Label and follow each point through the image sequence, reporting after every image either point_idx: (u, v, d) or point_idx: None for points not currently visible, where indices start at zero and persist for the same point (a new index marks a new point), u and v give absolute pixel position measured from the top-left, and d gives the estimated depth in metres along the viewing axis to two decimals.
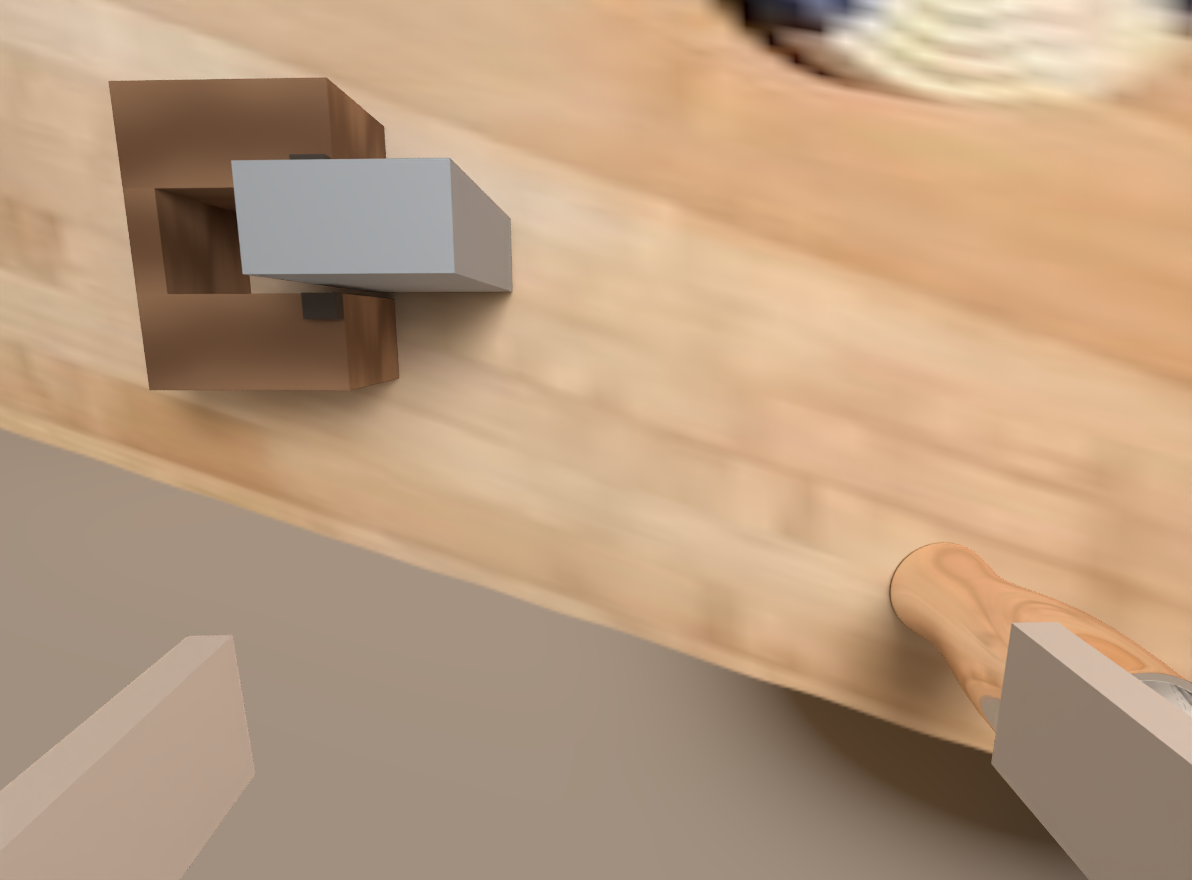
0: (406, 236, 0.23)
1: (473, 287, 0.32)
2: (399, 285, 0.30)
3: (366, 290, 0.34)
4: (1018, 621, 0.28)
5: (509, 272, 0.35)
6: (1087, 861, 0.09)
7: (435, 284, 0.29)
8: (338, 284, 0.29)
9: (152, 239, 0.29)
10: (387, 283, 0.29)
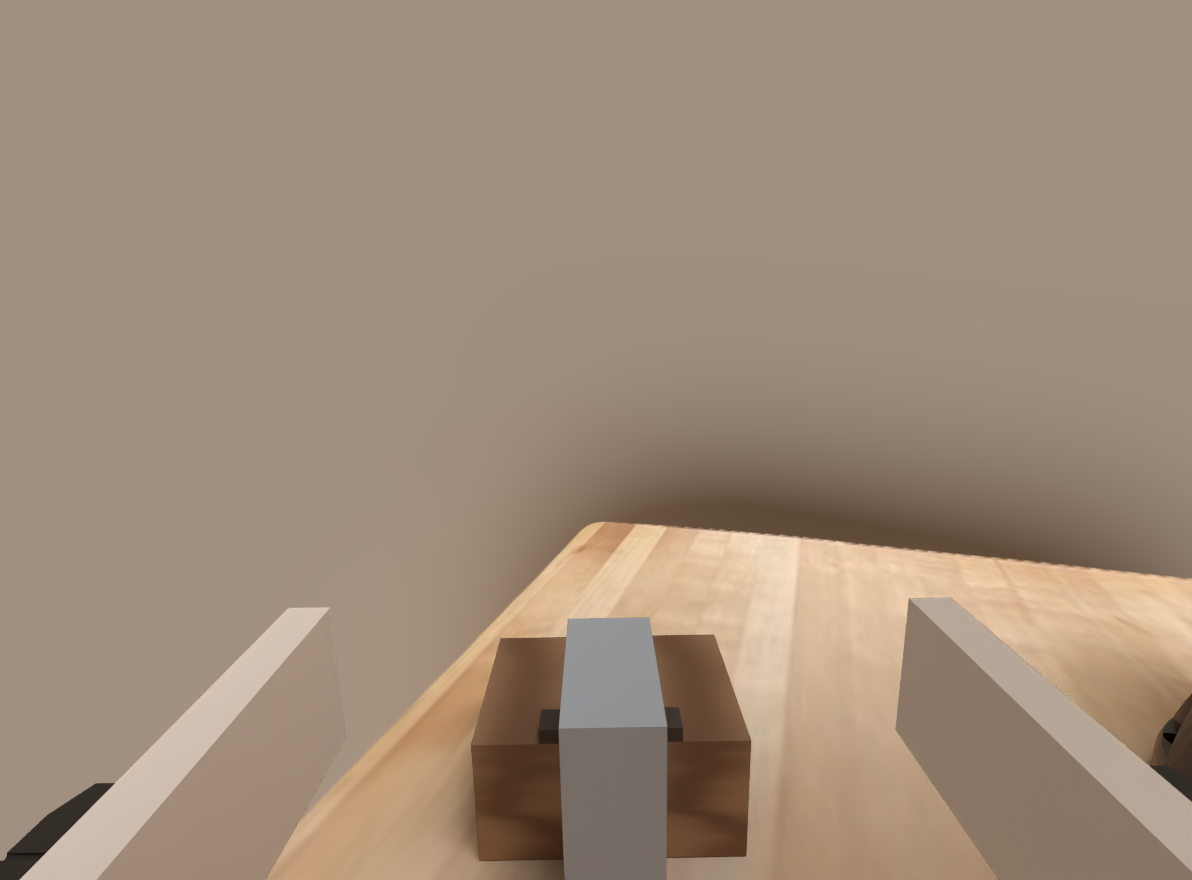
0: (594, 698, 0.25)
1: None
2: None
3: None
4: None
5: None
6: (961, 810, 0.10)
7: None
8: None
9: None
10: None
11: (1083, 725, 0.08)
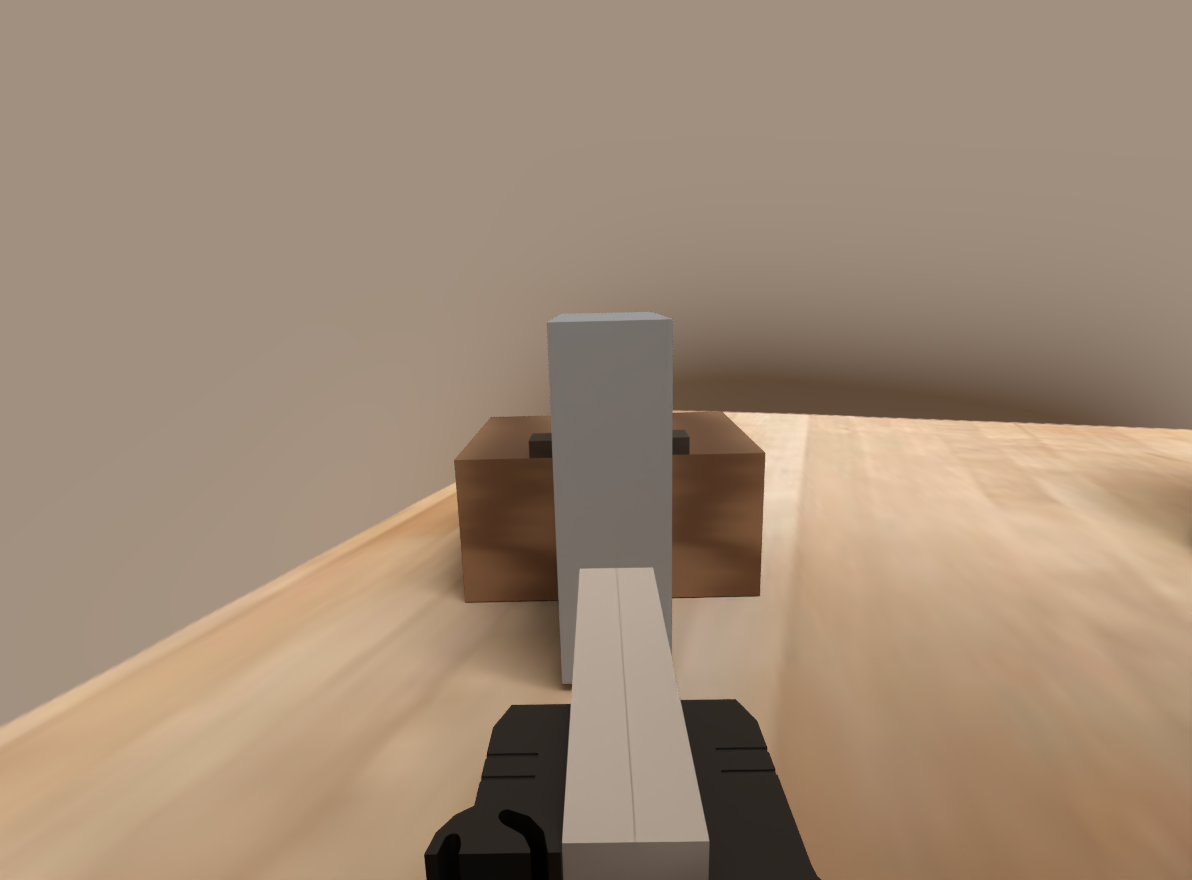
0: (589, 319, 0.21)
1: None
2: None
3: None
4: None
5: None
6: None
7: None
8: None
9: None
10: None
11: (657, 664, 0.09)
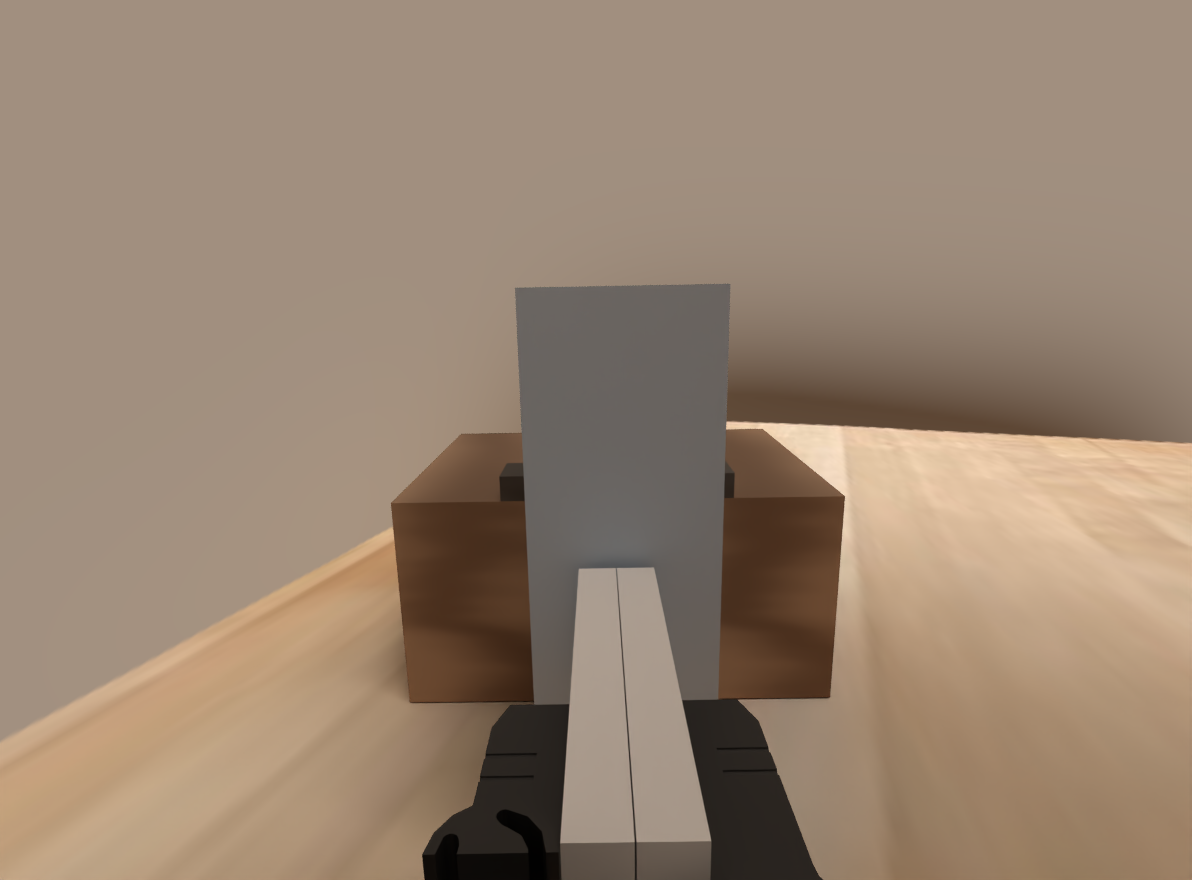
0: None
1: None
2: None
3: None
4: None
5: None
6: None
7: None
8: None
9: None
10: None
11: (659, 664, 0.09)
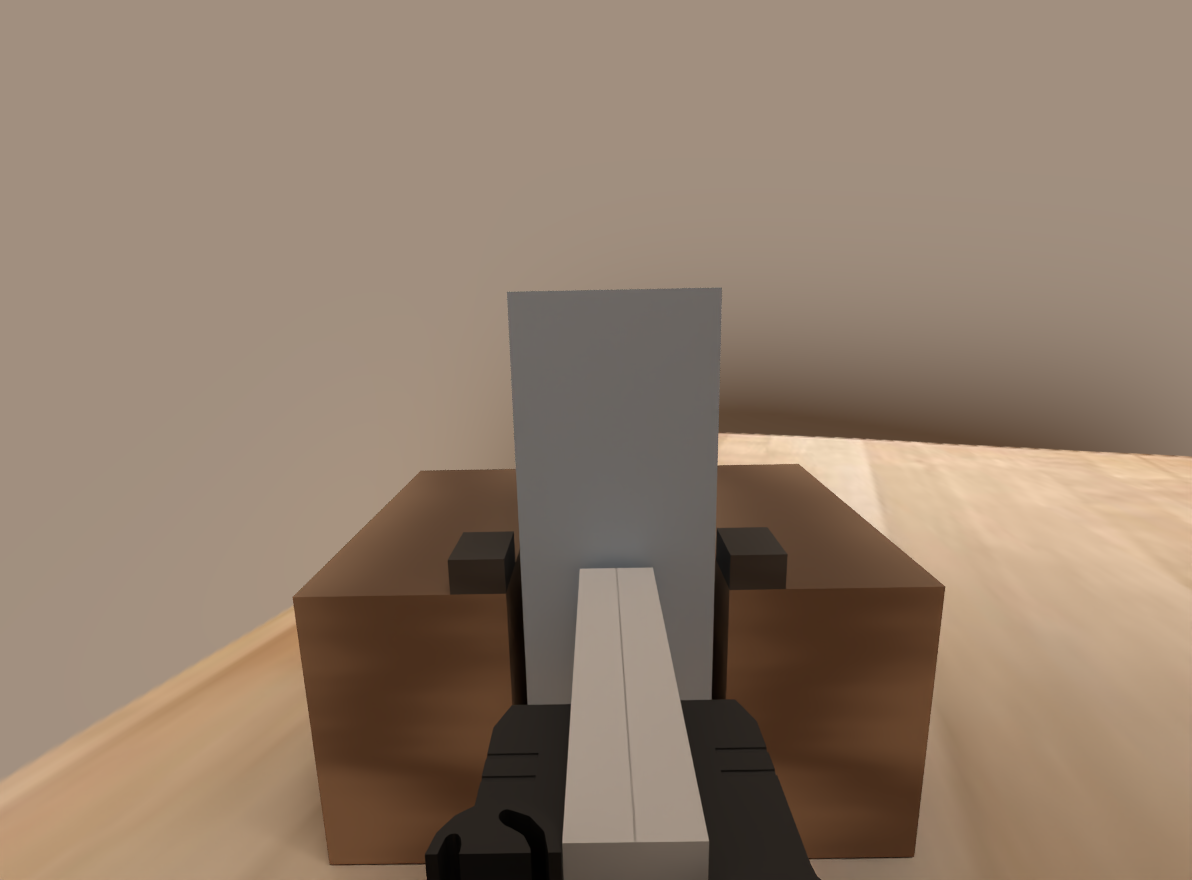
0: None
1: None
2: None
3: None
4: None
5: None
6: None
7: None
8: None
9: None
10: None
11: (657, 664, 0.09)
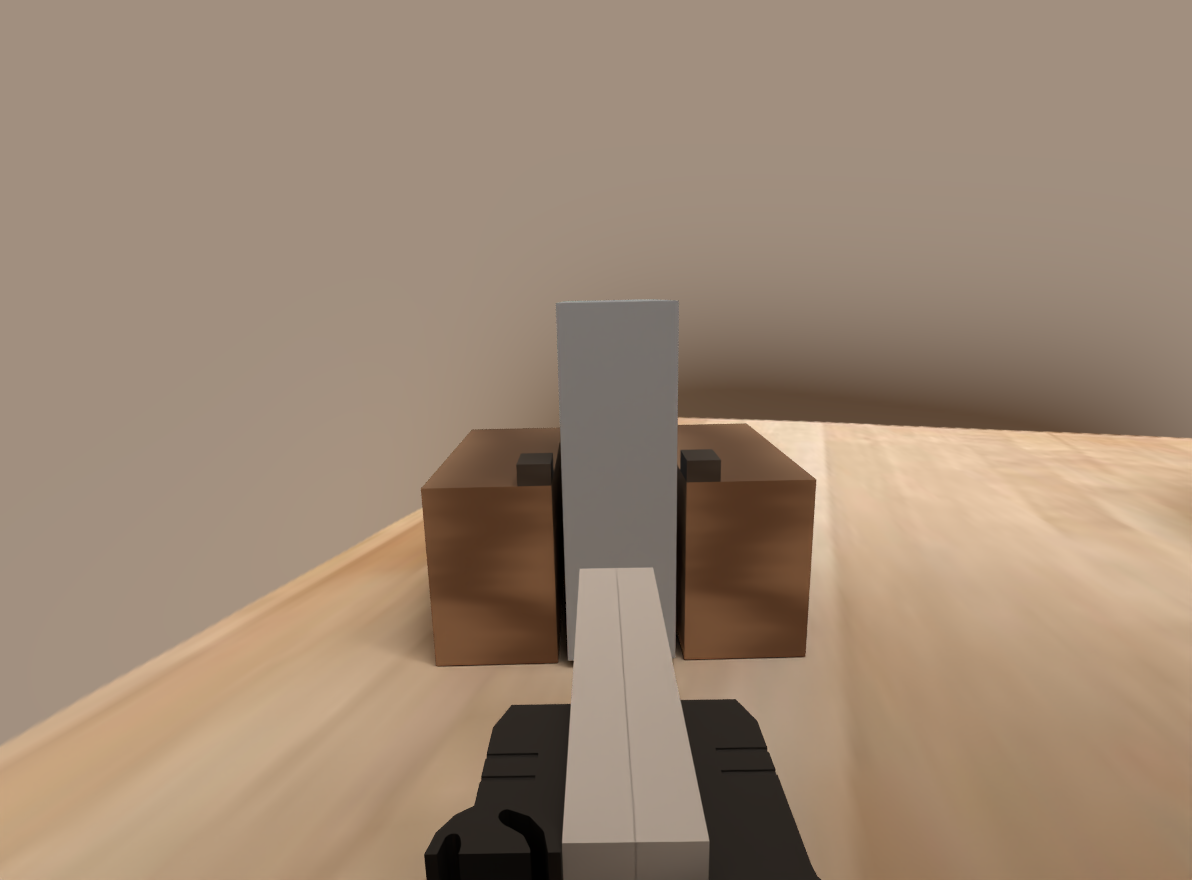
0: None
1: None
2: None
3: None
4: None
5: None
6: None
7: None
8: None
9: None
10: None
11: (657, 664, 0.09)
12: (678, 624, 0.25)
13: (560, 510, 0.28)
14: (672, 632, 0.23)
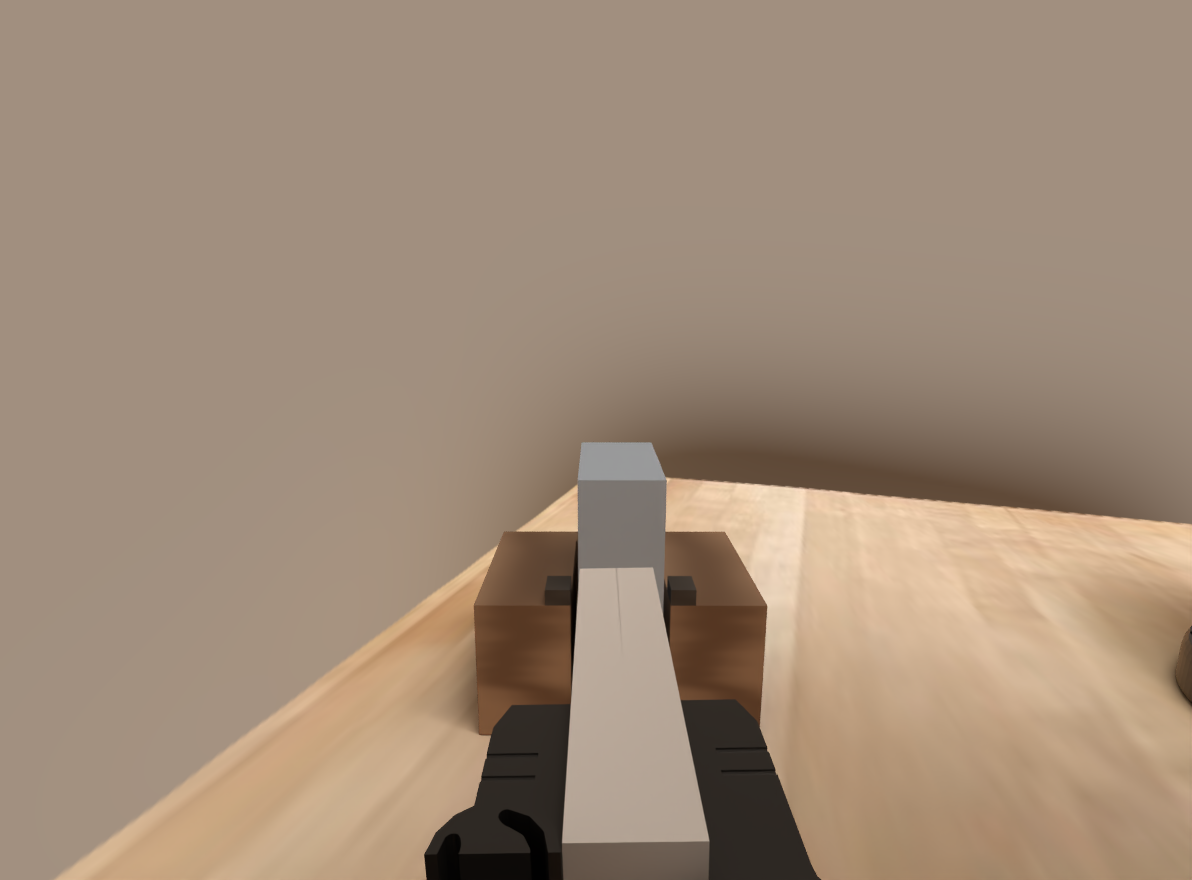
0: (606, 470, 0.30)
1: None
2: None
3: None
4: None
5: None
6: None
7: None
8: None
9: None
10: None
11: (657, 664, 0.09)
12: None
13: (574, 606, 0.36)
14: None
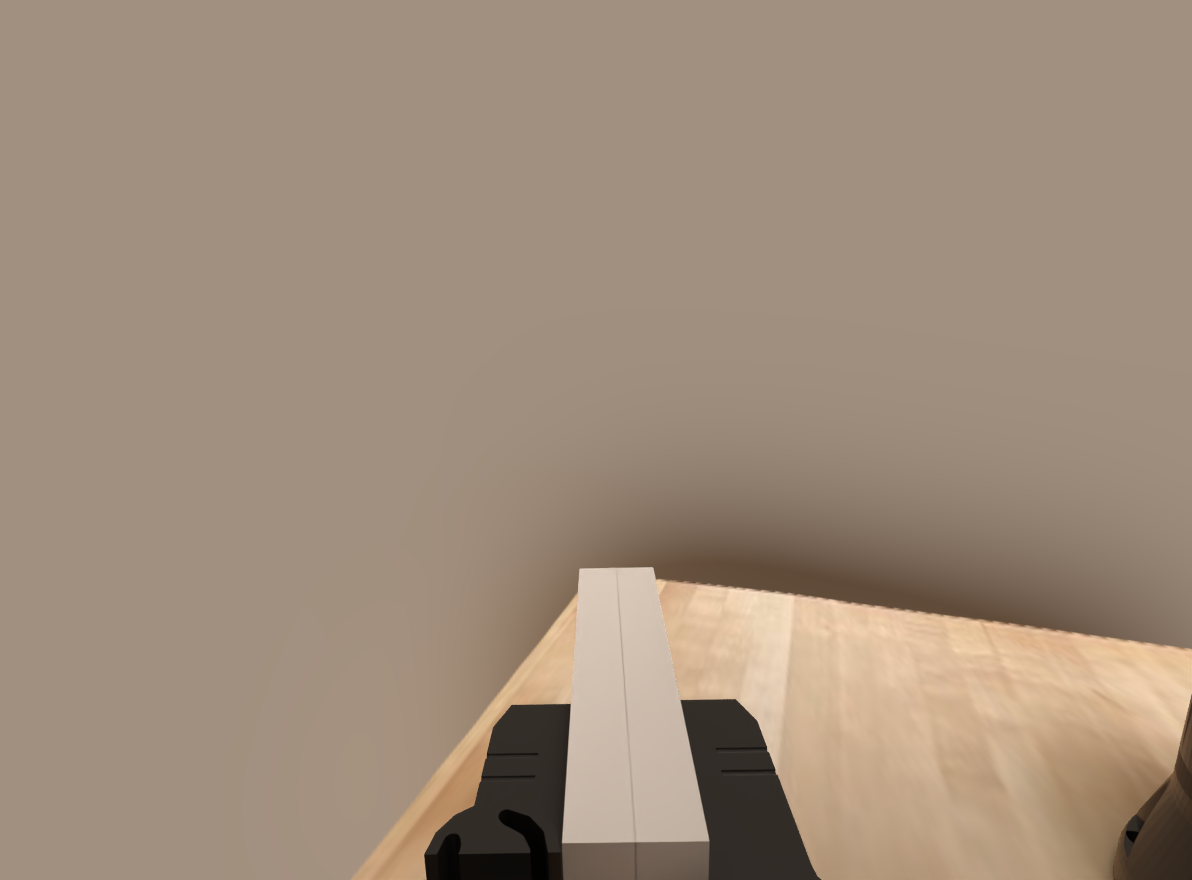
0: None
1: None
2: None
3: None
4: None
5: None
6: None
7: None
8: None
9: None
10: None
11: (657, 664, 0.09)
12: None
13: None
14: None
